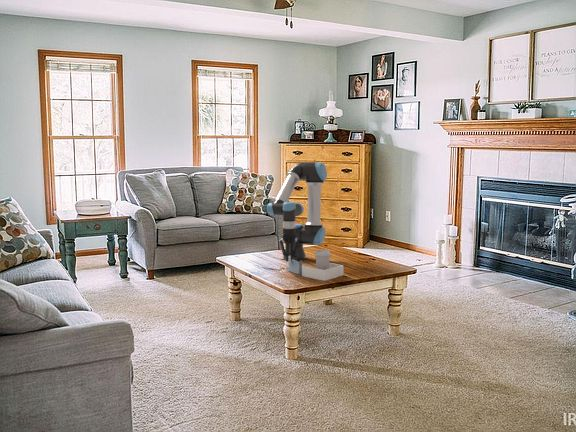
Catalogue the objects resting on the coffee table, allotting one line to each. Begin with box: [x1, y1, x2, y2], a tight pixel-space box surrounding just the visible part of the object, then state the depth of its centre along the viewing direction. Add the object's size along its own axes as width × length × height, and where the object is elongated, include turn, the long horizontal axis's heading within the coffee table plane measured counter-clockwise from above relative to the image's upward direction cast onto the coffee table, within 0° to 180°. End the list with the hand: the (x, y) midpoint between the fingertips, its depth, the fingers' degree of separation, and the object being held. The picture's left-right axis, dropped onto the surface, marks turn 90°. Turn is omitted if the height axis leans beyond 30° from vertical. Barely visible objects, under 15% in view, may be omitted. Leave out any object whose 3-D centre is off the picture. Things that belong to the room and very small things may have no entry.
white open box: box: [299, 260, 344, 282], centre depth 336 cm, size 19×18×9 cm
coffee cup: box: [314, 248, 332, 270], centre depth 335 cm, size 10×10×15 cm
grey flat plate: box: [286, 260, 300, 275], centre depth 342 cm, size 13×1×7 cm, turn 34°
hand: (288, 266), depth 342 cm, fingers closed
